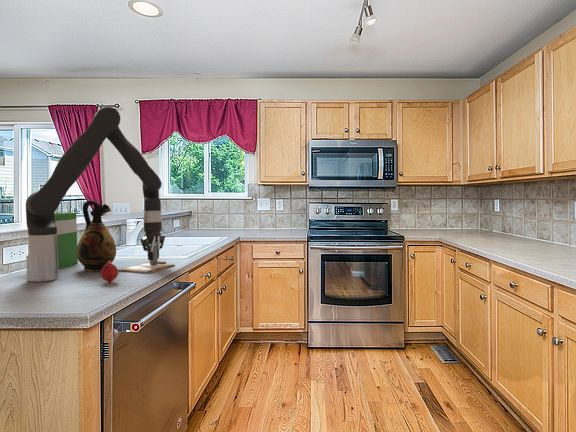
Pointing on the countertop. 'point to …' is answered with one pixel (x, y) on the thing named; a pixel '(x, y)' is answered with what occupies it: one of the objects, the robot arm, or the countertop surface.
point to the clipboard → (147, 267)
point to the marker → (154, 255)
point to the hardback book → (66, 239)
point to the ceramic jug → (95, 239)
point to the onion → (109, 272)
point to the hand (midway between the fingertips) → (153, 259)
